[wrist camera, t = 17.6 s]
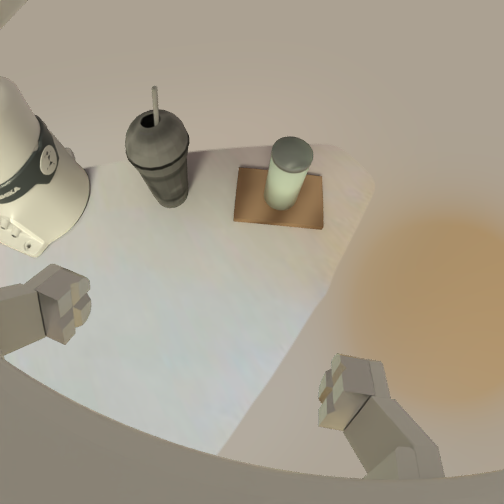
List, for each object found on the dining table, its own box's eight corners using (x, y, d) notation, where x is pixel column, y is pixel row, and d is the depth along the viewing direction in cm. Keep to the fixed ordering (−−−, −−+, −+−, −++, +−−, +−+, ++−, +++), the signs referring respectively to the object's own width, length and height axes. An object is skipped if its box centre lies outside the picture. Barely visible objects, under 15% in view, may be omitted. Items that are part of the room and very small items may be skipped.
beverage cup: (151, 171, 45) (116, 68, 26) (200, 172, 45) (187, 62, 26) (143, 216, 42) (94, 119, 23) (195, 217, 43) (174, 114, 24)
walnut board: (233, 221, 43) (233, 218, 42) (238, 171, 46) (238, 167, 45) (321, 229, 43) (323, 226, 42) (320, 180, 46) (321, 176, 45)
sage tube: (262, 208, 43) (271, 166, 33) (264, 179, 44) (272, 134, 35) (296, 212, 43) (313, 171, 33) (296, 183, 44) (312, 139, 35)
